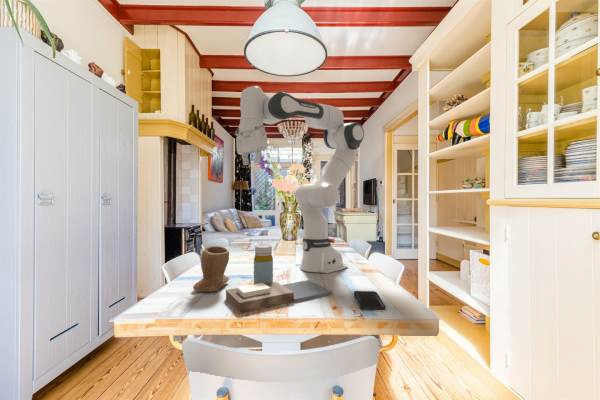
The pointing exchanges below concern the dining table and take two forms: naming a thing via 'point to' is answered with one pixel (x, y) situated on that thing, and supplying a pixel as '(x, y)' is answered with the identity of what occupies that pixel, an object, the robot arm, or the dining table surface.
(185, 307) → the dining table surface
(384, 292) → the dining table surface
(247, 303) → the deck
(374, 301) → the phone
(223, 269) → the stone cup
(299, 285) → the mat
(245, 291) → the tile
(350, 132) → the robot arm
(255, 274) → the bottle
